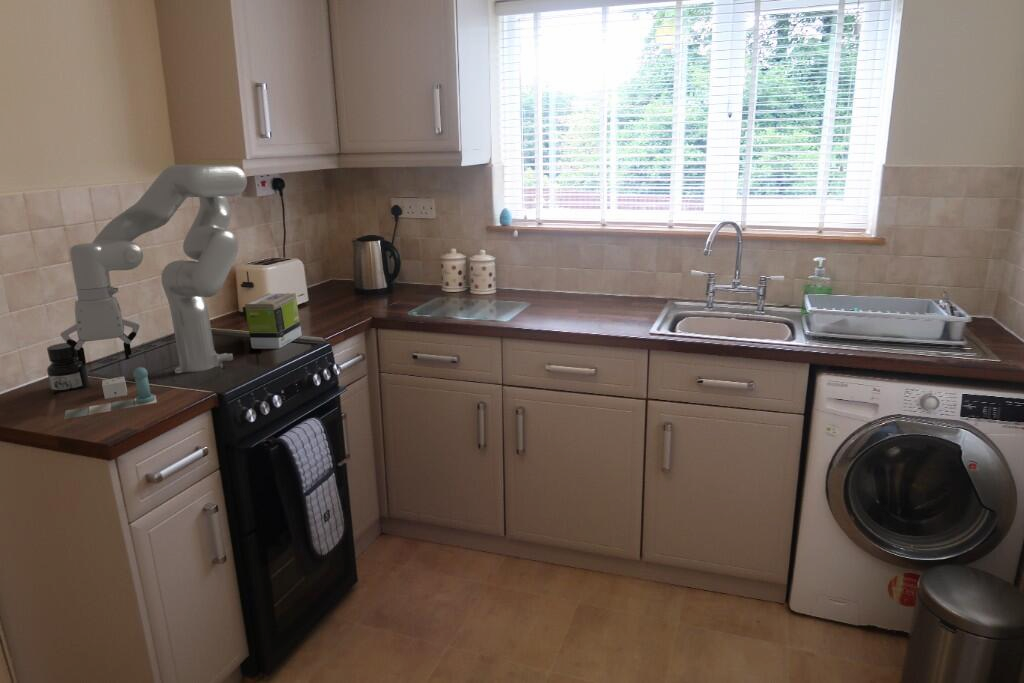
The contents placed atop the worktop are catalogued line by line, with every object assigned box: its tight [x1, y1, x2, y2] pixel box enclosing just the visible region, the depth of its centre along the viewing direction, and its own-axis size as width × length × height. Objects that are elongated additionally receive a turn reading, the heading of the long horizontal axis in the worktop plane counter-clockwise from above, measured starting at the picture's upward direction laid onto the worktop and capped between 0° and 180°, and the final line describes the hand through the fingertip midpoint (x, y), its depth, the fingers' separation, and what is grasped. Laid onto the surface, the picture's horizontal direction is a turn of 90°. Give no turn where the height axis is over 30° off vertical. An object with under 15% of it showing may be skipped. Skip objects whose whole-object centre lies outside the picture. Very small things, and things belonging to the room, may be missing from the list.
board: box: [63, 394, 158, 420], centre depth 177 cm, size 20×7×1 cm, turn 118°
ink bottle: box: [46, 342, 90, 394], centre depth 195 cm, size 10×9×12 cm
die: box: [101, 376, 128, 400], centre depth 186 cm, size 5×5×5 cm
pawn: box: [132, 366, 155, 403], centre depth 179 cm, size 4×4×9 cm
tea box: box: [244, 292, 303, 350], centre depth 231 cm, size 15×10×15 cm, turn 168°
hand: (106, 361), depth 183 cm, fingers open, 9 cm apart
